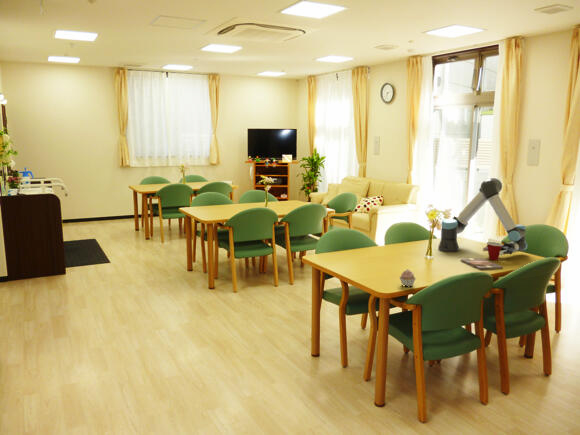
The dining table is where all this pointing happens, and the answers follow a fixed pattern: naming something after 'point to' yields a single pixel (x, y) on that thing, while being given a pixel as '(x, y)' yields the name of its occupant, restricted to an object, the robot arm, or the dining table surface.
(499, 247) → the plastic cup
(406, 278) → the cupcake
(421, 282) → the dining table surface
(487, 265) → the book
